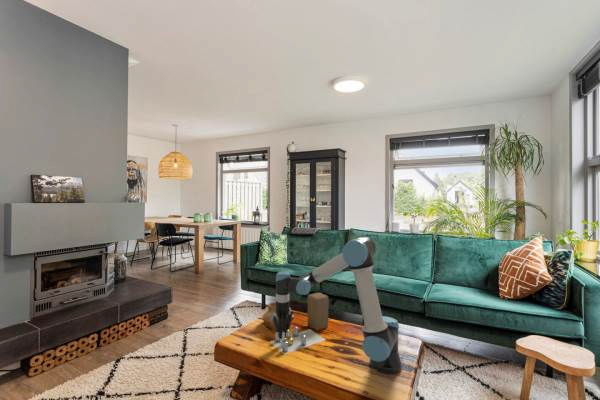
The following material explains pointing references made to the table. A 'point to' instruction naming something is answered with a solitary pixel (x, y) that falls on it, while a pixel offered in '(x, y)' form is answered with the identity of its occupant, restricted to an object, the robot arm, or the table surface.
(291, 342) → the brass round knob
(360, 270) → the robot arm
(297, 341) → the board
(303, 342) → the spacers
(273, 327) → the ceramic vessel
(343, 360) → the table surface
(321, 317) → the wooden block
